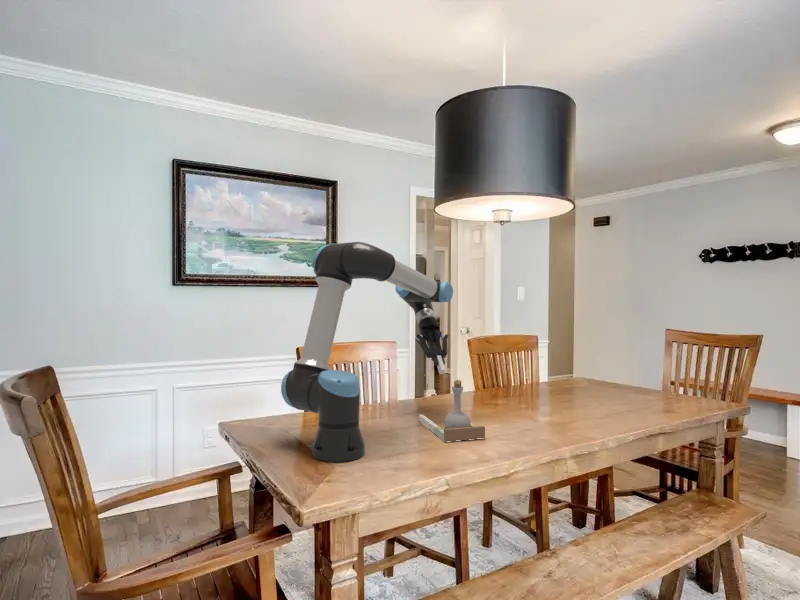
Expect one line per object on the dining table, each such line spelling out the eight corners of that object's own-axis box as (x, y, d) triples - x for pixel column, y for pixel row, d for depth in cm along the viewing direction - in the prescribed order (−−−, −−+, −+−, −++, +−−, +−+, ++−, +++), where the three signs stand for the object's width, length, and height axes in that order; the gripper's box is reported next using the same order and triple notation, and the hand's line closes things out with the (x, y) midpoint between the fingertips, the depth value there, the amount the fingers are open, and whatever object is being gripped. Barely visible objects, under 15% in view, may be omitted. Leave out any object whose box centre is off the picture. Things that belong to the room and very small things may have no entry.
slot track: (485, 439, 155) (485, 426, 155) (444, 442, 151) (444, 429, 151) (453, 418, 180) (454, 408, 180) (418, 421, 176) (418, 410, 176)
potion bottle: (471, 432, 163) (472, 379, 162) (468, 440, 154) (469, 383, 154) (446, 430, 165) (446, 377, 165) (441, 437, 156) (442, 382, 156)
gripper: (413, 316, 183) (427, 366, 167) (445, 316, 187) (462, 365, 171) (409, 329, 188) (422, 378, 172) (440, 329, 192) (456, 377, 176)
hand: (442, 372), depth 172 cm, fingers closed
